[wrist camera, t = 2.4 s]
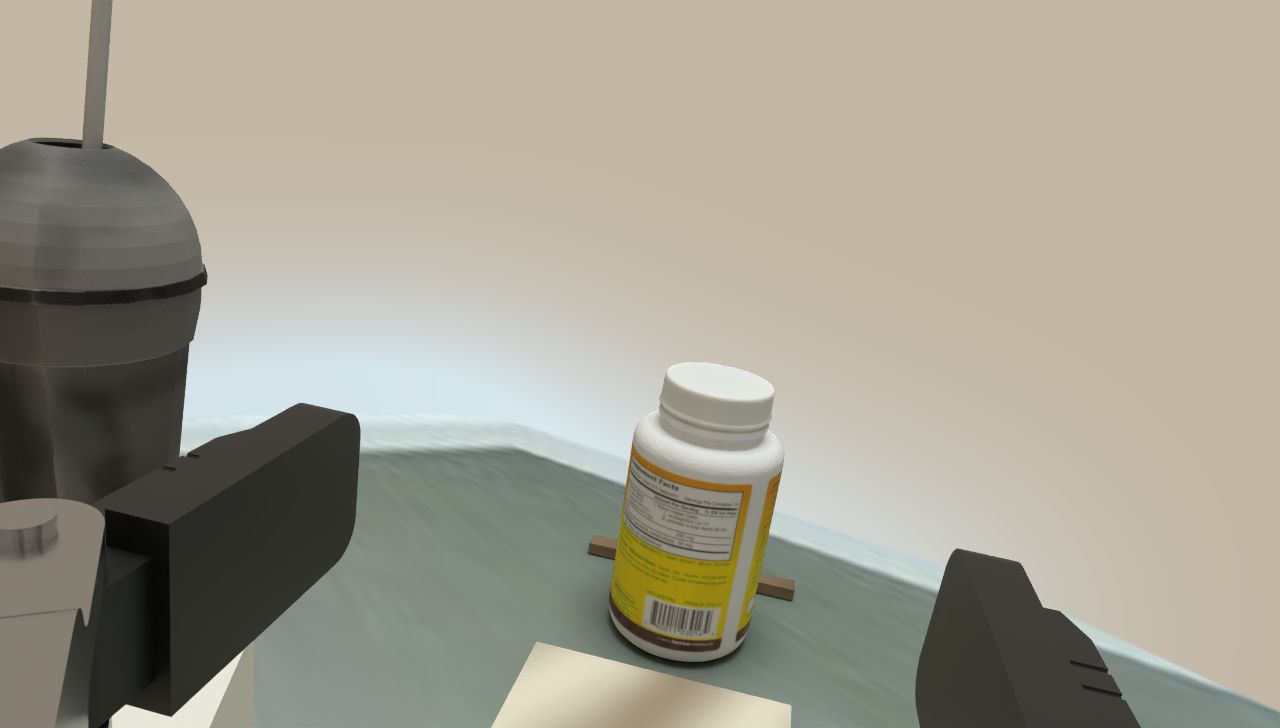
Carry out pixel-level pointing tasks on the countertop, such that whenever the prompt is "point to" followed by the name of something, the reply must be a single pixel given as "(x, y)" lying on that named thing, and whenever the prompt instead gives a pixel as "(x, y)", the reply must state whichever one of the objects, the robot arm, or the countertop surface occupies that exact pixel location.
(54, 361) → the beverage cup
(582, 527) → the countertop surface
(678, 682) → the game track
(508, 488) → the countertop surface
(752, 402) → the supplement bottle
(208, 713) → the die
